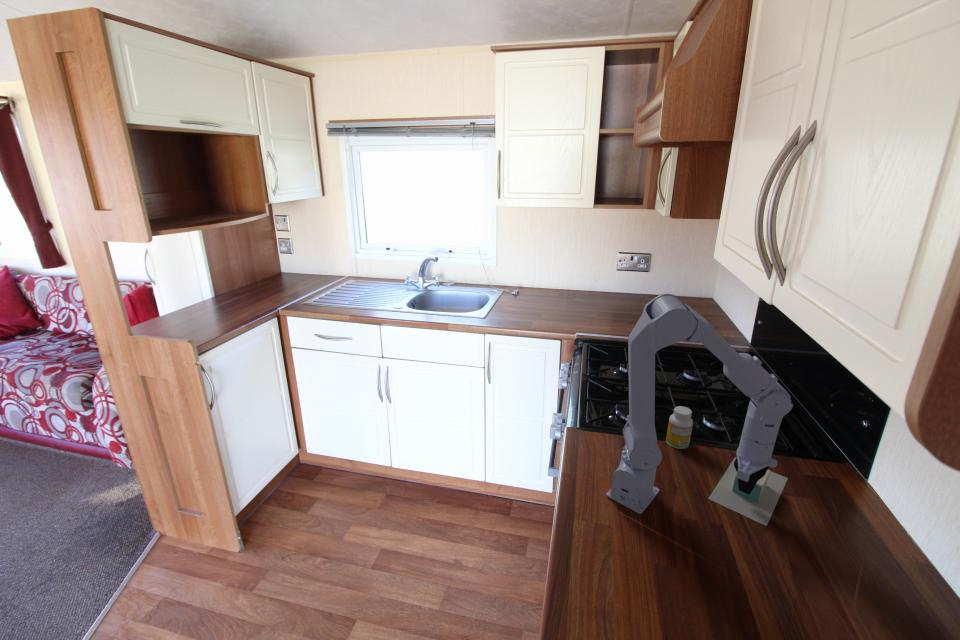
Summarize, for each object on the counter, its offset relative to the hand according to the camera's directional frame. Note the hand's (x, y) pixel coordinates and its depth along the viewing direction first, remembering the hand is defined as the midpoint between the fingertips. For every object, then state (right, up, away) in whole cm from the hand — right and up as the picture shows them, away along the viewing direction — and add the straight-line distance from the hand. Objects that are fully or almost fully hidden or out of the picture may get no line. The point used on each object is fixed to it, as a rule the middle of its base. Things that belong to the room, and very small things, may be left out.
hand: (744, 490), depth 95 cm
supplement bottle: (-5, +4, +20) cm, 22 cm away
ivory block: (+1, 0, +2) cm, 2 cm away
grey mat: (+4, -1, +5) cm, 6 cm away
